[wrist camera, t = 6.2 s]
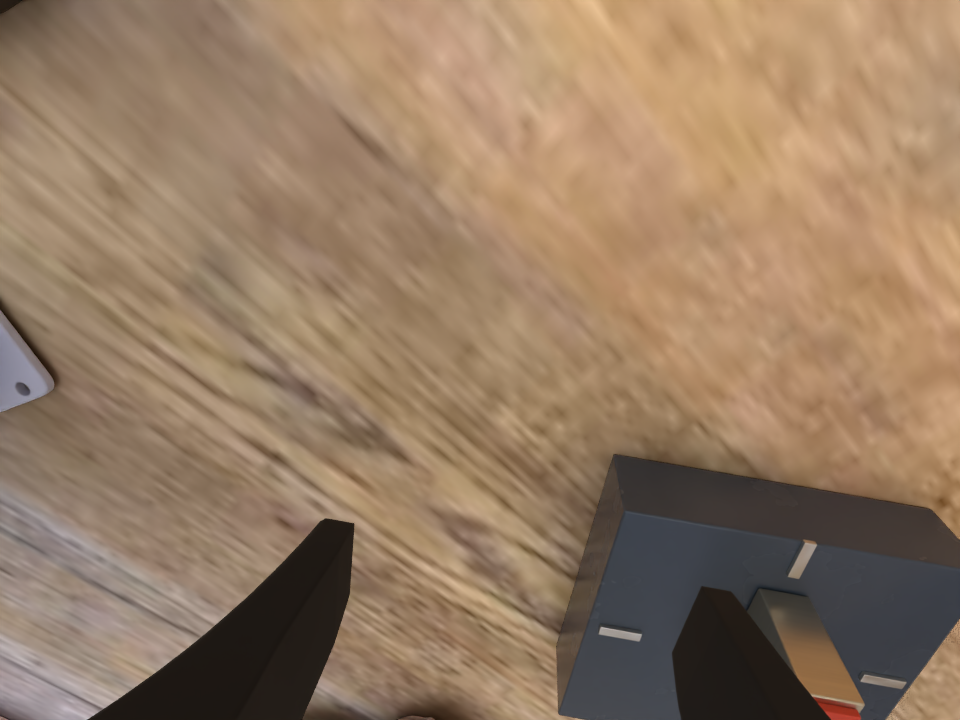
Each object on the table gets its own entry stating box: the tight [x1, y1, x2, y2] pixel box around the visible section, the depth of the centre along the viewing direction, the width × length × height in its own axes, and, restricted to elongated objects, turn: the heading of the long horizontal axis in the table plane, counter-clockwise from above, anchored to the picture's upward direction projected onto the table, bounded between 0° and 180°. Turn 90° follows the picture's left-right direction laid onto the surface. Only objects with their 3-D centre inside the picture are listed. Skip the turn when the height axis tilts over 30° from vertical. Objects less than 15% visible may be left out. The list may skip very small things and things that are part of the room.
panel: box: [556, 454, 960, 720], centre depth 21 cm, size 11×10×3 cm
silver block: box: [747, 588, 865, 720], centre depth 18 cm, size 6×2×4 cm, turn 172°
